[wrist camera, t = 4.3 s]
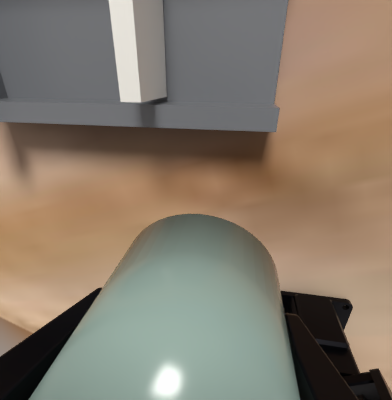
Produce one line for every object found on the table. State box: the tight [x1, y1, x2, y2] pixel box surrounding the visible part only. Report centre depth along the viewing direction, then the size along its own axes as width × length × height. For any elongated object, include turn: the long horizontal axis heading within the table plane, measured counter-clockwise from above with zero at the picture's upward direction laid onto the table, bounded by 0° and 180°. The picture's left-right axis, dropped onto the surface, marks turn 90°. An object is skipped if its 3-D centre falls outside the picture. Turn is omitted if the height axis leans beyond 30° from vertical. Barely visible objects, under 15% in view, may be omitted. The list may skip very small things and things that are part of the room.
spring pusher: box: [109, 0, 167, 102], centre depth 12 cm, size 7×1×4 cm, turn 0°
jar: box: [29, 214, 300, 400], centre depth 7 cm, size 6×6×7 cm
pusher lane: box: [0, 0, 288, 132], centre depth 12 cm, size 10×19×5 cm, turn 90°
